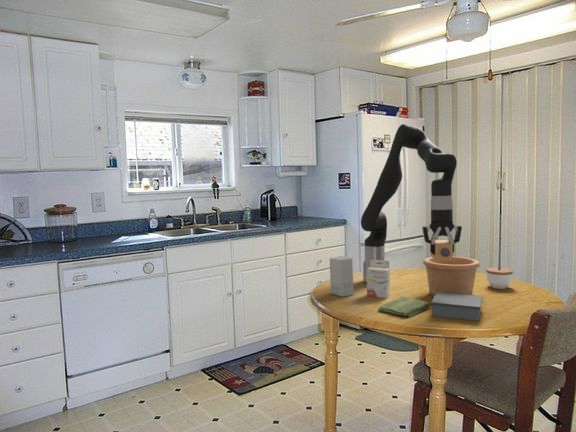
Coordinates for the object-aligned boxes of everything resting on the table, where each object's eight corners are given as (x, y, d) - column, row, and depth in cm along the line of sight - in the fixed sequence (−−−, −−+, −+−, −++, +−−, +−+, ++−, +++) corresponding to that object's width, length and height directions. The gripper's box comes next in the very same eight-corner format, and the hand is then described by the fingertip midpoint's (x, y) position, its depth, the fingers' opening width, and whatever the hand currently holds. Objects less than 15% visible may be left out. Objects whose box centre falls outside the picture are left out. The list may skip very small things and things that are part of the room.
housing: (430, 255, 174) (430, 240, 173) (445, 255, 173) (445, 239, 173) (437, 261, 163) (437, 244, 162) (453, 260, 162) (453, 244, 162)
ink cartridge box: (366, 296, 189) (366, 261, 188) (369, 293, 193) (369, 259, 192) (387, 298, 185) (387, 262, 184) (389, 295, 190) (390, 260, 189)
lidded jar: (486, 289, 198) (486, 267, 197) (485, 283, 207) (485, 263, 207) (513, 291, 194) (514, 269, 193) (511, 285, 203) (512, 264, 203)
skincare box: (353, 295, 191) (353, 258, 190) (341, 297, 188) (341, 260, 187) (341, 291, 198) (341, 255, 197) (329, 293, 195) (329, 257, 194)
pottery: (484, 302, 177) (485, 266, 175) (425, 300, 181) (425, 264, 180) (473, 289, 198) (473, 256, 197) (420, 287, 202) (420, 255, 201)
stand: (430, 316, 161) (431, 302, 161) (437, 304, 175) (437, 291, 175) (480, 321, 154) (480, 307, 154) (482, 308, 169) (482, 295, 168)
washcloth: (376, 312, 168) (376, 304, 168) (402, 302, 180) (402, 294, 180) (407, 320, 159) (408, 311, 158) (432, 309, 171) (432, 300, 171)
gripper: (459, 207, 169) (459, 252, 170) (419, 208, 171) (420, 253, 172) (464, 208, 162) (465, 255, 163) (423, 209, 163) (423, 256, 164)
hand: (442, 254), depth 167 cm, fingers closed on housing, 5 cm apart
